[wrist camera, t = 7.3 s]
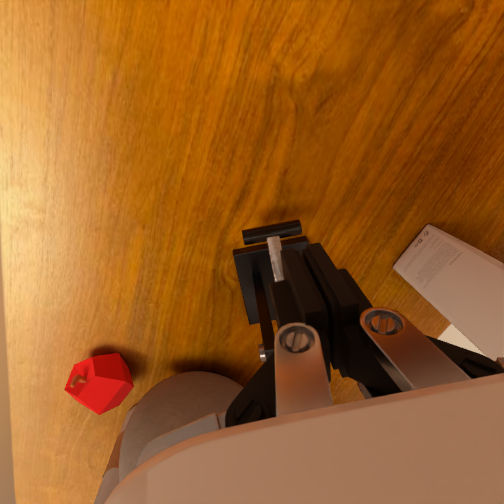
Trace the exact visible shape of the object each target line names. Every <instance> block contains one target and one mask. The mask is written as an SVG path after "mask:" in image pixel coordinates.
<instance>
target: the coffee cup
mask: <svg viewBox="0 0 504 504" xmlns="http://www.w3.org/2000/svg"><path fill="white" fill-rule="evenodd" d="M136 406H137V405H135V406H134V407H132V409H131V410H130V411H129V412H128V413H127V415H126V418H125V421H124V423H123V426H122V429H121V431H120V434H119V435H118V438H117V440H116V443H115V446H114V448H113V451H112V454H111V456H110V459H109V462H108V464H107V467H106V470H105V473H104V475H103V480H102V483H101V486H100V488H99V491H98V494H97V496H96V499H95V502H94V504H104V503H105V501H106V500H107V498H108V497H109V495H110V493H111V492H112V491H113V490H114V488H115V487H116V486H117V485H118V484H119V483H120V481H119V457H120V449H121V443H122V438H123V435H124V431H125V428H126V426H127V423H128V421H129V419H130V416H131V414H132V413H133V411H134V409H135V407H136Z"/></svg>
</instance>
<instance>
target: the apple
mask: <svg viewBox="0 0 504 504" xmlns="http://www.w3.org/2000/svg"><path fill="white" fill-rule="evenodd" d="M133 387H134V385H133V381H132V377H131V373H130V370H129V368H128V366H127V365H126V363H125V362H124V360H123V359H122V357H121V356H120V354H119V353H113V354H107V355H100V356H94V357H91V358H88V359H86V360H84V361H82V362H80V363H77V364H75V365H74V366H73V369H72V371H71V374H70V376H69V379H68V382H67V384H66V387H65V389H64V390H65V391H66V392H68V393H69V394H70V395H71V396H72V397H73V398H74V399H76V400H77V401H78V402H79V403H81V404H82V405H84V406H86V407H87V408H89V409H90V410H92V411H94V412H95V413H97V414H99V415H100V414H102V413H104V412H106V411H108V410H111V409H113V408H115V407H117V406H119V405H120V404H121V402H122V401H123V400H124V399H125V397H126V396H127V395H128V393H129V392H130V391H131V389H132V388H133Z"/></svg>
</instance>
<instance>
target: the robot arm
mask: <svg viewBox="0 0 504 504" xmlns="http://www.w3.org/2000/svg"><path fill="white" fill-rule="evenodd" d="M280 254H281V262H282V270H283V277H284V280H282V281H276V282H271V283H269V286H270V292H271V298H272V303H273V309H274V313H275V318H276V322H277V326H278V331H277V333H276V335H275V340H274V342H275V351H274V352H273V353H272V354H271V356H270V357H269V358H268V359H267V360H266V362H265V363H264V364H263V365H262V366H261V368H260V369H259V370H258V371H257V372H256V374H255V375H254V376H253V377H252V378H251V380H250V381H249V382H248V383H247V384H246V386H245V387H244V388H243V389H242V390H241V392H240V393H239V394H238V395H237V396H236V398H235V399H234V400H233V401H232V402H231V404H230V406H229V407H228V409H227V410H226V411H224V412H222V413H220V414H216V412H213V413H211V414H209V415H207V416H204V417H202V418H200V419H197V420H195V421H193V422H191V423H188V424H186V425H184V426H182V427H179V428H177V429H175V430H172V431H170V432H168V433H166V434H163V435H161V436H159V437H156V438H155V439H153V440H152V441H150V442H149V443H148V444H147V445H146V446H145V447H144V448H143V449H142V450H141V452H140V454H139V456H138V458H137V460H136V466H135V470H133V471H132V472H131V473H130V474H129V475H127V476H126V477H125V478H124V479H123V480H122V481H121V482H120V483H119V484H118V485H117V486H116V487H115V488H114V490H113V491H112V492H111V493H110V495H109V497H108V498H107V500H106V501H105V503H104V504H504V357H497V359H496V361H493V360H492V359H490V358H488V357H486V356H483V355H481V354H478V353H476V352H472V351H470V350H467V349H464V348H461V347H458V346H455V345H452V344H449V343H447V342H443V341H441V340H438V339H435V338H432V337H429V336H426V335H424V334H423V333H422V332H421V331H419V330H418V329H417V328H416V327H415V326H414V325H413V324H412V323H411V322H410V321H409V320H408V319H407V318H405V317H404V316H403V315H402V314H401V313H399V312H398V311H396V310H393V309H391V308H387V307H373V306H372V305H371V303H370V302H369V300H368V299H367V298H366V296H365V295H364V293H363V292H362V291H361V289H360V288H359V286H358V285H357V284H356V282H355V281H354V279H353V278H352V277H351V275H350V274H349V272H348V271H347V270H346V269H339V270H337V268H336V267H335V265H334V264H333V262H332V261H331V259H330V258H329V256H328V255H327V253H326V252H325V250H324V249H323V247H322V246H321V244H320V243H315V244H310V245H306V249H302V256H301V254H300V252H299V250H296V251H295V250H294V248H289V249H283V250H280ZM330 362H331V364H332V367H333V369H334V370H335V369H339V371H340V374H341V376H342V378H343V377H350V378H352V379H354V380H356V381H357V384H358V387H359V389H360V391H361V392H362V394H363V395H364V397H365V400H360V401H355V402H349V403H344V404H339V405H334V406H333V402H332V397H331V392H330V387H329V383H330V381H331V370H330Z"/></svg>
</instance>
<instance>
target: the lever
mask: <svg viewBox="0 0 504 504" xmlns="http://www.w3.org/2000/svg"><path fill="white" fill-rule="evenodd" d="M301 234H302V228H301V223H300V221H299V219H298V220H292V221H287V222H282V223H277V224H272V225H267V226H262V227H256V228H251V229H246V230H242V235H243V240H244V244H245V245H249V244H254V243H259V242H265V241H267V246H268V251H269V256H270V261H271V266H272V271H273V276H274V281H275V282H276V281H282V280H284V277H283V270H282V262H281V254H280V250H282V247H281V242H280V238H285V237H290V236H295V235H301ZM277 331H278V330H277Z"/></svg>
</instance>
